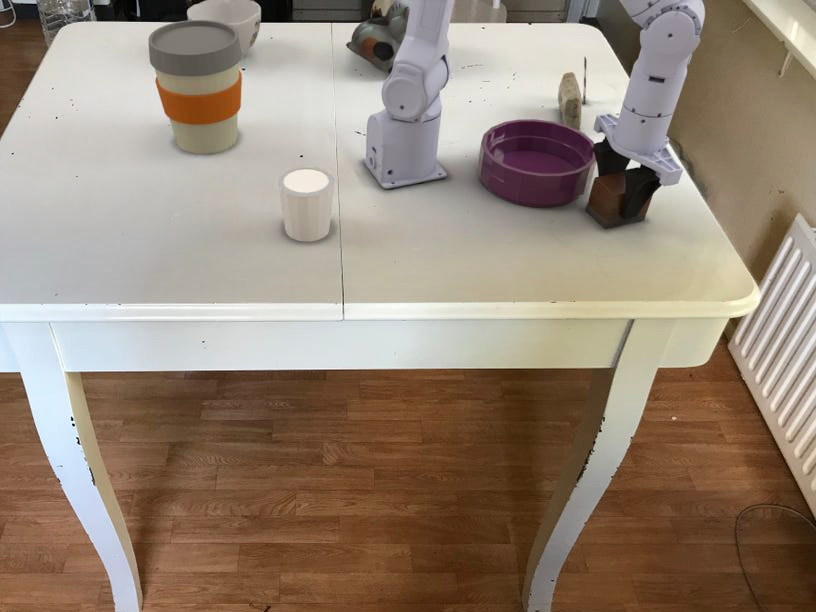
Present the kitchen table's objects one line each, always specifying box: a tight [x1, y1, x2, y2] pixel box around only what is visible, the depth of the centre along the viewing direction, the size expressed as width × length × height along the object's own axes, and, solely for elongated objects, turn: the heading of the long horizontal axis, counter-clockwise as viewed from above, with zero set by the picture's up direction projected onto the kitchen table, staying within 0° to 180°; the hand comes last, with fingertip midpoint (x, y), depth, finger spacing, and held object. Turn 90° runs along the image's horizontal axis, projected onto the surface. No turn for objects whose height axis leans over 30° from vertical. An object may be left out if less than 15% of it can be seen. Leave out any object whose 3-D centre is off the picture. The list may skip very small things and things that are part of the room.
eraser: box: [585, 172, 654, 230], centre depth 96 cm, size 6×4×5 cm
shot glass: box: [277, 165, 335, 243], centre depth 93 cm, size 7×7×7 cm
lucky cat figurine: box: [345, 0, 411, 75], centre depth 127 cm, size 15×12×14 cm
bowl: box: [476, 118, 597, 208], centre depth 102 cm, size 15×15×5 cm
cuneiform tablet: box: [557, 56, 587, 131], centre depth 115 cm, size 7×4×12 cm
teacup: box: [186, 0, 262, 60], centre depth 129 cm, size 15×12×8 cm
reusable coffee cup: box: [148, 19, 243, 155], centre depth 106 cm, size 13×13×15 cm
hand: (617, 206), depth 96 cm, fingers closed on eraser, 4 cm apart
